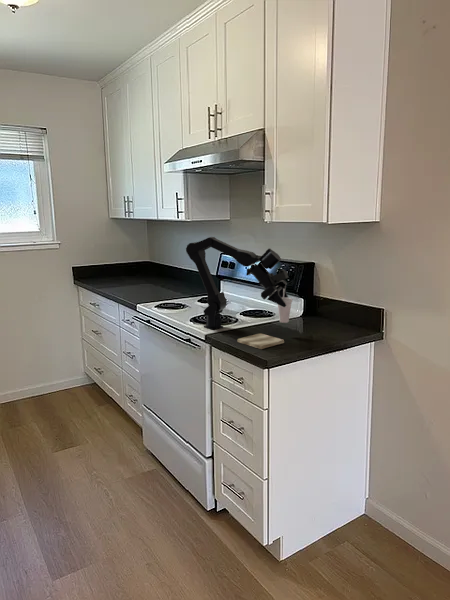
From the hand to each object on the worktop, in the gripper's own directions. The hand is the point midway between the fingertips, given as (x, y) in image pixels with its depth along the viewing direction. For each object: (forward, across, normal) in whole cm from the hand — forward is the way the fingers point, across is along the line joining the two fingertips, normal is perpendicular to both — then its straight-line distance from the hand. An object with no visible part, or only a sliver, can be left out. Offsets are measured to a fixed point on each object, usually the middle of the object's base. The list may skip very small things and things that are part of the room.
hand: (287, 305), depth 187 cm
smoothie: (+4, 0, +6) cm, 8 cm away
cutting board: (+5, -13, +14) cm, 20 cm away
